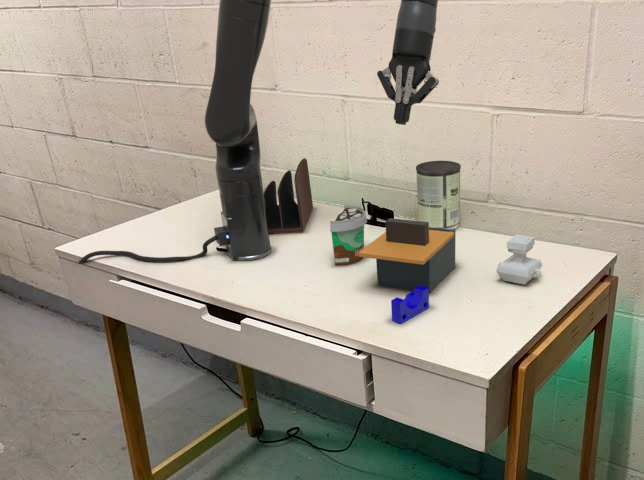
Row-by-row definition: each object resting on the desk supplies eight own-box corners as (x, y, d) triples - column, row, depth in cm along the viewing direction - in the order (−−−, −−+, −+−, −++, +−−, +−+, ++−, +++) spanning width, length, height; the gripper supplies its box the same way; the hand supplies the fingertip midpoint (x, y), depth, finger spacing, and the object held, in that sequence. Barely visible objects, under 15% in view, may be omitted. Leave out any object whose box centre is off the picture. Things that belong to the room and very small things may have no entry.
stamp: (490, 282, 135) (491, 240, 131) (504, 270, 140) (506, 230, 136) (533, 290, 131) (536, 248, 127) (547, 278, 135) (550, 237, 131)
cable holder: (413, 303, 128) (413, 283, 126) (428, 308, 126) (428, 287, 124) (385, 318, 123) (384, 298, 121) (400, 324, 121) (400, 302, 119)
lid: (423, 264, 123) (422, 238, 121) (358, 256, 128) (356, 231, 126) (454, 236, 136) (454, 212, 133) (393, 229, 141) (392, 206, 138)
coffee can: (423, 217, 173) (423, 159, 166) (464, 219, 169) (465, 161, 163) (411, 230, 164) (410, 170, 157) (454, 233, 161) (454, 172, 154)
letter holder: (313, 208, 183) (308, 153, 177) (304, 232, 166) (297, 173, 159) (275, 209, 184) (269, 155, 177) (262, 234, 166) (254, 175, 160)
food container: (362, 269, 144) (359, 222, 139) (333, 268, 145) (329, 222, 140) (374, 248, 154) (372, 204, 150) (347, 247, 156) (344, 203, 151)
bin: (429, 293, 132) (429, 253, 128) (377, 285, 136) (375, 246, 132) (455, 267, 143) (455, 229, 139) (406, 261, 147) (405, 224, 143)
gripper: (376, 23, 134) (363, 117, 138) (440, 29, 129) (424, 126, 134) (391, 32, 140) (378, 121, 145) (453, 38, 136) (437, 130, 141)
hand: (400, 124), depth 139 cm, fingers closed
